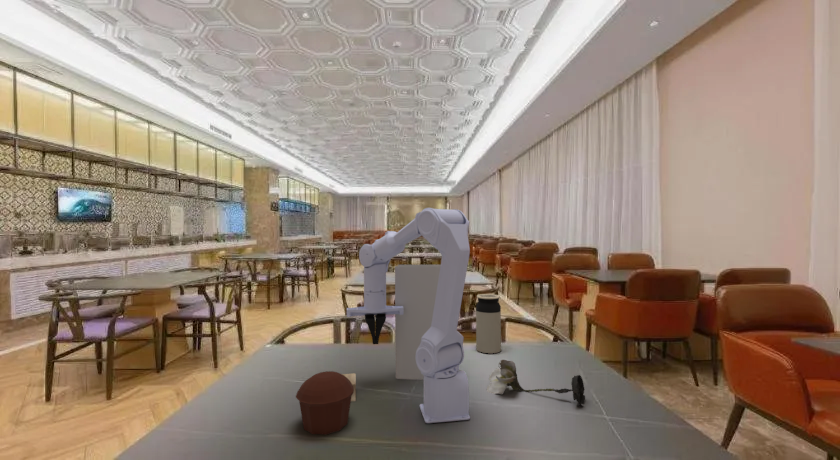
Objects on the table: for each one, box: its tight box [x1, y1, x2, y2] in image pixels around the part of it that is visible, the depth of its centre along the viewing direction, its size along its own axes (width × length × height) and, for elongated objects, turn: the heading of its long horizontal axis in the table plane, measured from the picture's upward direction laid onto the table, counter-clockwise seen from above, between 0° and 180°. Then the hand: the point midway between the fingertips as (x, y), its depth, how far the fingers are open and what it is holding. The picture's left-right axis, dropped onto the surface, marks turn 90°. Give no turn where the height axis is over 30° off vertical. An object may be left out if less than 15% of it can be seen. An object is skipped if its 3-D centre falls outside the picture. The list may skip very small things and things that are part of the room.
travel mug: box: [475, 293, 502, 355], centre depth 126 cm, size 8×8×18 cm
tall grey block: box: [394, 264, 441, 381], centre depth 104 cm, size 14×6×30 cm, turn 84°
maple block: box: [341, 372, 357, 402], centre depth 91 cm, size 4×7×10 cm
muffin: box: [295, 370, 354, 435], centre depth 78 cm, size 12×11×10 cm
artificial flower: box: [486, 359, 586, 408], centre depth 91 cm, size 9×22×10 cm, turn 59°
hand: (375, 343), depth 99 cm, fingers closed
